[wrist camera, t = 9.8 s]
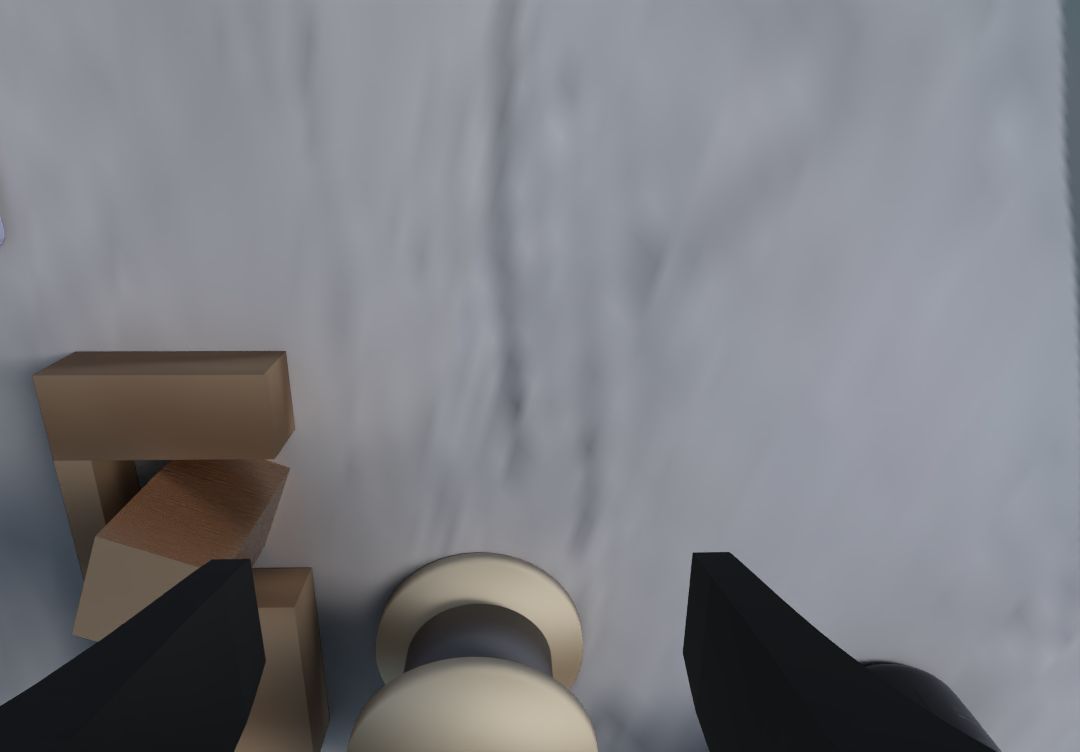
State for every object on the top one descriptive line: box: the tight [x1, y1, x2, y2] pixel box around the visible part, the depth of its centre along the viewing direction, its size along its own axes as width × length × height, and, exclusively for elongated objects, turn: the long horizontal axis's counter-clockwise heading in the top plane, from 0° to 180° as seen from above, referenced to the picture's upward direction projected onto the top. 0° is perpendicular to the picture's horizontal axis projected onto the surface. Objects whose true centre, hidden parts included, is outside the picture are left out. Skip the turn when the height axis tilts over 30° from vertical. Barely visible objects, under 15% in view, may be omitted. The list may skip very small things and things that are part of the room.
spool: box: [347, 553, 598, 752], centre depth 22 cm, size 7×7×6 cm
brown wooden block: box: [72, 459, 290, 642], centre depth 20 cm, size 3×3×6 cm
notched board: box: [32, 351, 330, 752], centre depth 22 cm, size 14×6×2 cm, turn 179°
